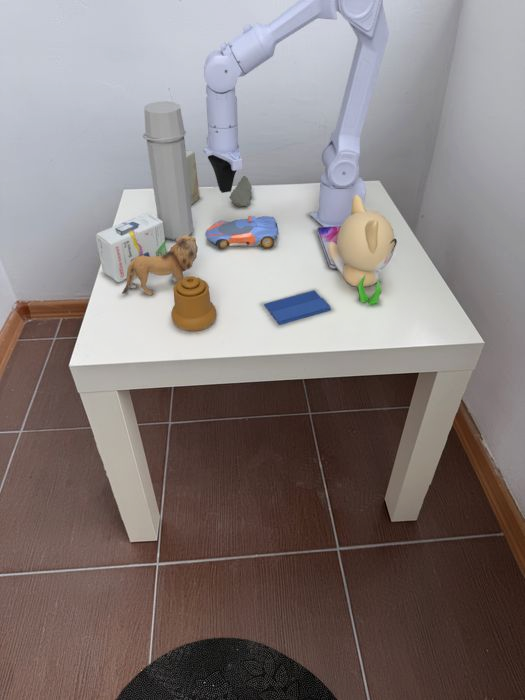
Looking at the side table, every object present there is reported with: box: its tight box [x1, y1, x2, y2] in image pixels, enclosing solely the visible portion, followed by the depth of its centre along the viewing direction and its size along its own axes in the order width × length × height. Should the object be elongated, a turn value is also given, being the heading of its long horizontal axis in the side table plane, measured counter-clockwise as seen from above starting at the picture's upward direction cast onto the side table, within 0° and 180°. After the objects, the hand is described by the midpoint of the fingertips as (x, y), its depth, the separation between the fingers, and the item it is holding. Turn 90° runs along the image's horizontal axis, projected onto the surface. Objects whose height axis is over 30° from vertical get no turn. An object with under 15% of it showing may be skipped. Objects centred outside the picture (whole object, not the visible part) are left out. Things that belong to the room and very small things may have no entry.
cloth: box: [264, 289, 332, 326], centre depth 88 cm, size 10×6×1 cm, turn 115°
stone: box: [228, 175, 253, 208], centre depth 119 cm, size 13×2×5 cm
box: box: [186, 149, 200, 206], centre depth 115 cm, size 5×4×11 cm
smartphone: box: [316, 226, 347, 269], centre depth 103 cm, size 7×1×15 cm
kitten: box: [328, 195, 398, 306], centre depth 89 cm, size 15×10×15 cm
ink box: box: [95, 212, 168, 283], centre depth 95 cm, size 9×5×12 cm
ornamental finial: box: [170, 275, 217, 332], centre depth 83 cm, size 8×8×8 cm
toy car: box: [204, 215, 280, 250], centre depth 103 cm, size 8×15×5 cm, turn 95°
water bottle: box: [142, 100, 194, 241], centre depth 99 cm, size 9×8×25 cm
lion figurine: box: [121, 235, 199, 296], centre depth 90 cm, size 15×5×9 cm, turn 116°
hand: (225, 190), depth 106 cm, fingers closed
